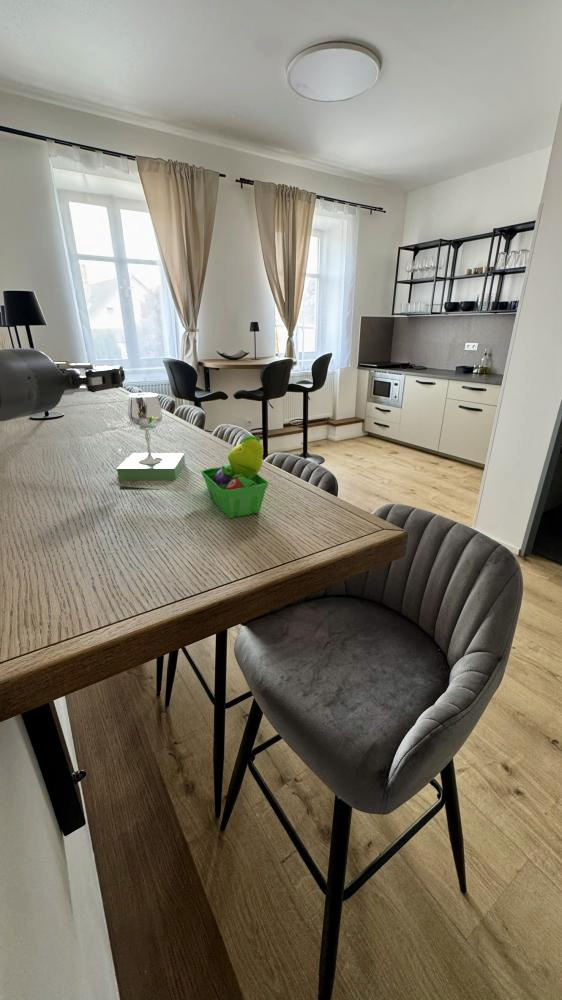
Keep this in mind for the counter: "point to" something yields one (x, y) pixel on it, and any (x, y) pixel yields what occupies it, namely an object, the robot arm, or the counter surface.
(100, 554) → the counter surface
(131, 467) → the green block
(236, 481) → the fruit basket
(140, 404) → the wineglass
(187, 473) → the counter surface
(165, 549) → the counter surface
